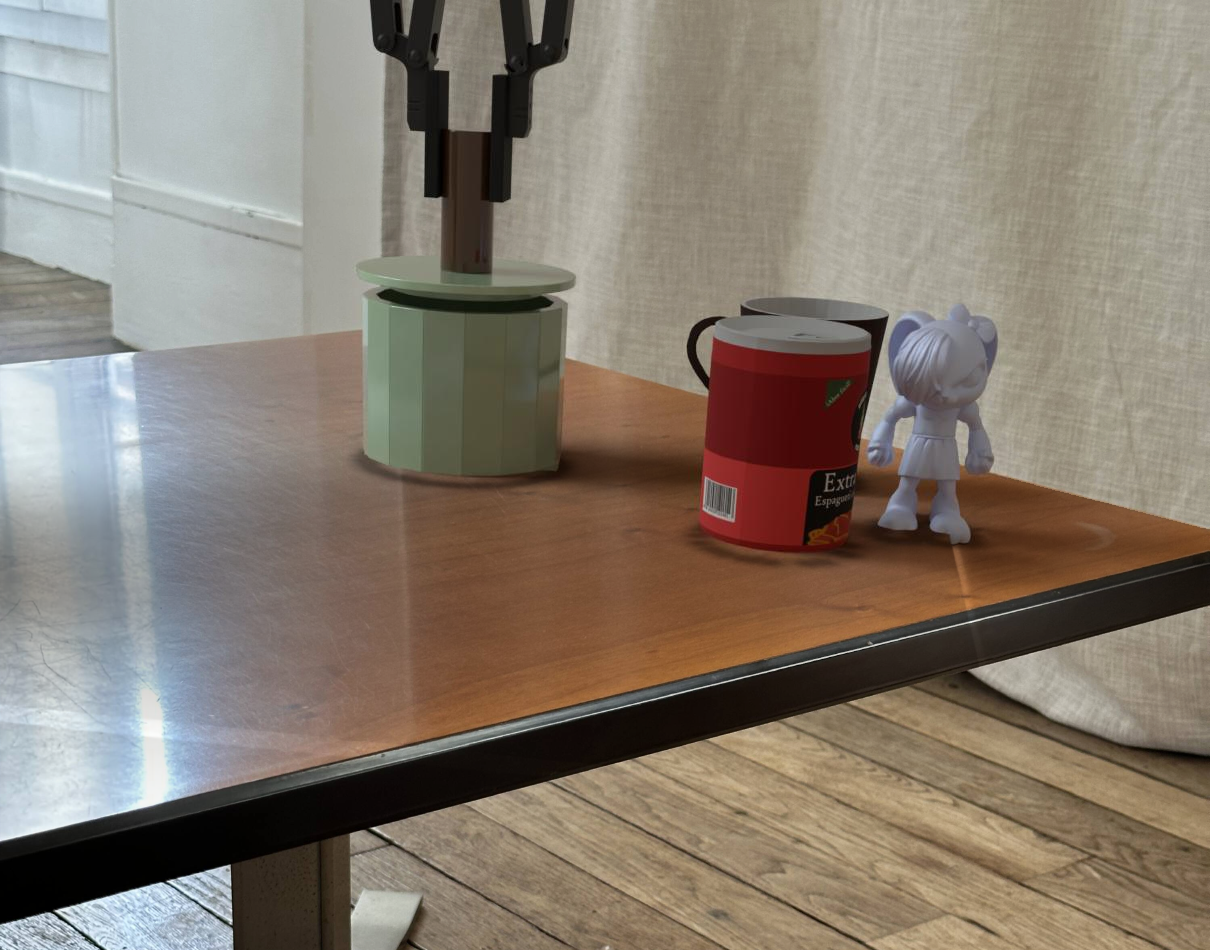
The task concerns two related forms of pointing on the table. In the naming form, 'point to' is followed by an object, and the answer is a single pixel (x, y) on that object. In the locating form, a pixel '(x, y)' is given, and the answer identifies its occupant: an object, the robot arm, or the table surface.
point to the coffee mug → (805, 308)
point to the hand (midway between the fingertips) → (467, 197)
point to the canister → (463, 383)
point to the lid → (466, 239)
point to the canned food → (783, 432)
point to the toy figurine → (936, 412)
